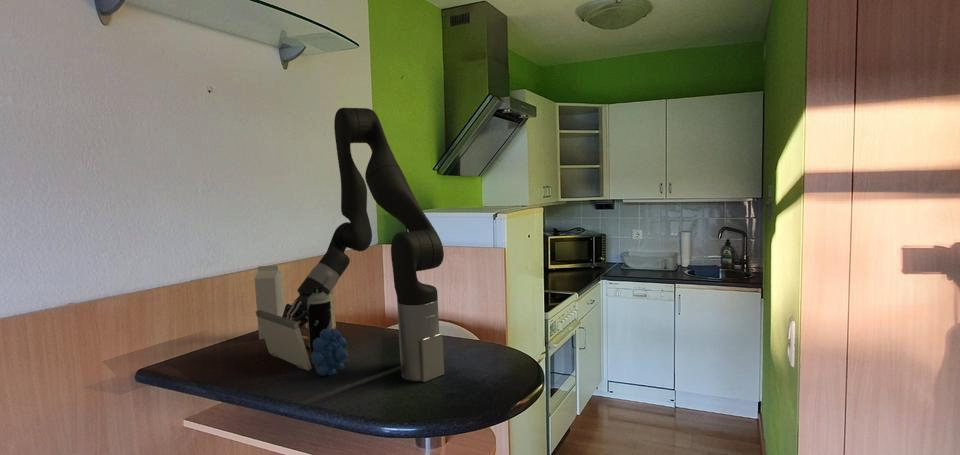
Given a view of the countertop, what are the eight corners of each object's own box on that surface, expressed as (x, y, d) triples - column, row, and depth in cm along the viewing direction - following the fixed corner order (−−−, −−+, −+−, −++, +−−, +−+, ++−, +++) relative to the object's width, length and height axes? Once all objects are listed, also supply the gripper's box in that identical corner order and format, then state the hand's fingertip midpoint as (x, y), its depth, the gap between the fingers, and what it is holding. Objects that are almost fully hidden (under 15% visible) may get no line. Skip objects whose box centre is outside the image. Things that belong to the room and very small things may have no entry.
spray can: (316, 373, 118) (310, 290, 117) (308, 367, 122) (302, 287, 121) (338, 367, 122) (332, 286, 120) (329, 361, 126) (324, 284, 124)
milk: (279, 340, 147) (274, 267, 145) (258, 341, 147) (253, 268, 145) (286, 334, 153) (281, 263, 151) (267, 335, 153) (261, 264, 151)
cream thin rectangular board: (312, 370, 117) (297, 322, 114) (307, 373, 116) (291, 324, 113) (273, 353, 131) (259, 309, 128) (268, 355, 130) (253, 312, 127)
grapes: (330, 390, 107) (327, 336, 106) (306, 386, 110) (302, 333, 109) (362, 371, 118) (359, 321, 117) (339, 368, 121) (336, 320, 120)
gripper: (297, 273, 137) (256, 327, 129) (321, 278, 127) (278, 337, 120) (317, 289, 141) (278, 342, 133) (341, 294, 132) (301, 352, 124)
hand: (278, 339), depth 127 cm, fingers closed
